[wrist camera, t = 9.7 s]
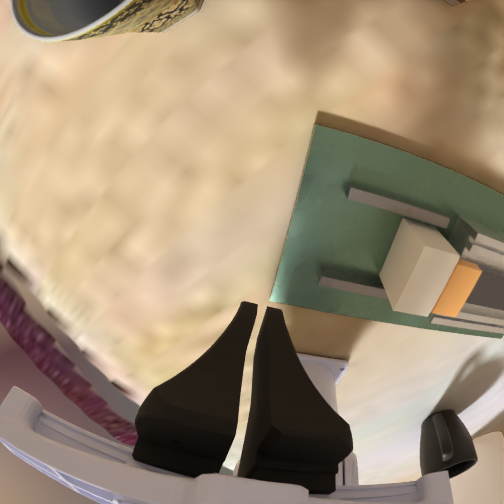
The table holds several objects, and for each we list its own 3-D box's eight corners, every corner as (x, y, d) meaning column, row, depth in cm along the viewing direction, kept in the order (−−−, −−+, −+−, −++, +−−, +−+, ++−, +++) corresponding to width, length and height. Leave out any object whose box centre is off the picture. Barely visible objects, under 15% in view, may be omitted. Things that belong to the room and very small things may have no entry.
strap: (526, 316, 20) (531, 324, 19) (422, 294, 21) (427, 304, 20) (548, 279, 18) (554, 286, 17) (447, 244, 18) (454, 253, 17)
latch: (432, 286, 23) (452, 322, 19) (378, 274, 23) (393, 312, 19) (457, 234, 20) (485, 265, 16) (402, 217, 20) (426, 247, 16)
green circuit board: (501, 334, 25) (516, 360, 22) (270, 294, 26) (266, 331, 22) (559, 227, 19) (584, 247, 15) (314, 123, 19) (321, 130, 15)
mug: (462, 383, 30) (483, 443, 22) (462, 419, 34) (475, 467, 26) (406, 407, 33) (418, 470, 24) (416, 438, 37) (424, 488, 29)
